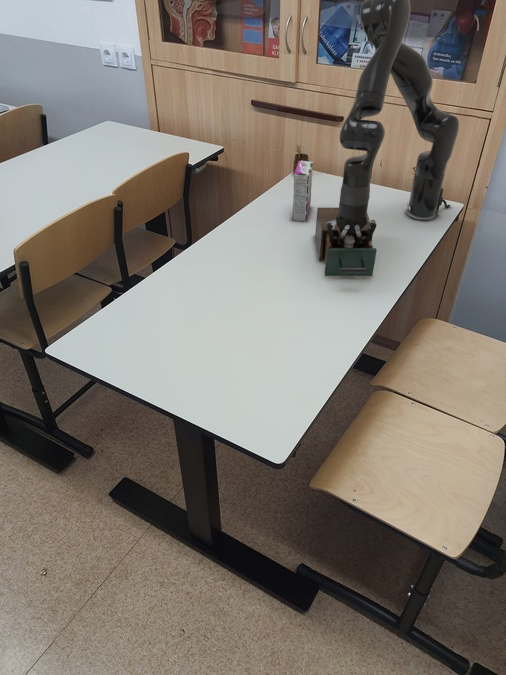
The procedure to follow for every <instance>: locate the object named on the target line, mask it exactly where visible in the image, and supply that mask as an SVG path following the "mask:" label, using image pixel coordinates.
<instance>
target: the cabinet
mask: <svg viewBox="0 0 506 675" xmlns="http://www.w3.org/2000/svg"><path fill="white" fill-rule="evenodd" d="M338 212H339V207H317V208H316V219H315V233H314V240H315V244H316V250H317V257H318V261H319V262H325V260H324V255H323V244H324V233H328V229H327V224H326V221H327V220H330V221H333V220H336V218H337V217H338ZM366 218H367V220H370V217H369V213H367V216H366ZM370 221H371V220H370ZM339 229H340V228H339V227H338V226H337V224H336V225H335V228H334V229H332V231H333V233H338V231H339ZM367 229H368V227H367V224H366V225H365V226H364V228H363V229H362V230H361V231H360V232H361V233H366V231H367ZM373 236H374V234H373V235H372V237H371V239H370V240H371V243H372V241H373ZM372 244H373V243H372Z"/></svg>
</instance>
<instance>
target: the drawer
mask: <svg viewBox="0 0 506 675" xmlns="http://www.w3.org/2000/svg"><path fill="white" fill-rule="evenodd" d="M337 234H338V233H333V235H334V236H335V237H336V236H337ZM347 235H349V237H350V235H351V236H352V237H354V239H355V242H354V243H353V245H354V246H353V248H344V244H345V242H344V241H343V240H344V239H343V240H342V242H341V248H335V244H336V243H331V242H330V238H329V233H324V244H323V255H324V260H325V261H324V277H373V276H374V269H375V263H376V257H377V248H376V247H374V246H373V243H371V240H370V241H369V242H368V243H366V242H365V243H363V244H362V248H356V241H357V236H356V234H346V235H345V236H347ZM364 235H365V233H361V236H362V237H363V236H364ZM344 238H345V237H344Z"/></svg>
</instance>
